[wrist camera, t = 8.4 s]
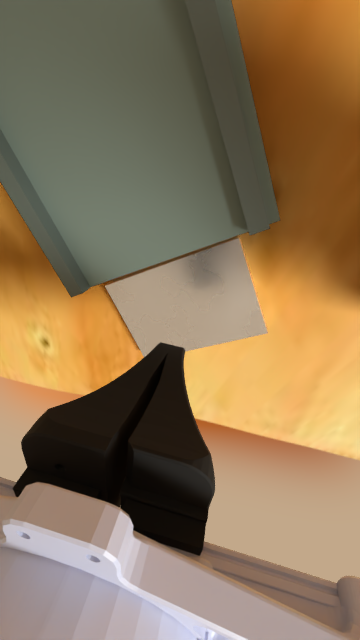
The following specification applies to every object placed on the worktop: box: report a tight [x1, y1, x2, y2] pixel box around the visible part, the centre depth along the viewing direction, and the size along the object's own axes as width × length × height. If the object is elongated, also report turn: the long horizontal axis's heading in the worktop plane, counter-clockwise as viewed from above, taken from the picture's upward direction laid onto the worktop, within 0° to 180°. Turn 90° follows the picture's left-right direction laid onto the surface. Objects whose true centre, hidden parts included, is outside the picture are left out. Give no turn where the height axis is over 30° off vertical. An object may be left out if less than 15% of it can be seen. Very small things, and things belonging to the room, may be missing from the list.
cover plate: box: [105, 235, 268, 357], centre depth 20 cm, size 7×10×2 cm
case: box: [0, 0, 280, 297], centre depth 14 cm, size 14×14×4 cm
